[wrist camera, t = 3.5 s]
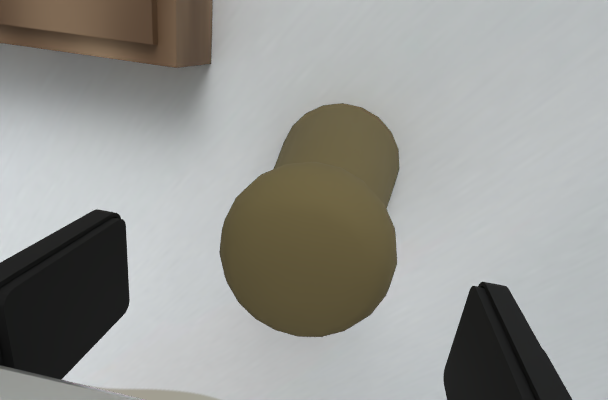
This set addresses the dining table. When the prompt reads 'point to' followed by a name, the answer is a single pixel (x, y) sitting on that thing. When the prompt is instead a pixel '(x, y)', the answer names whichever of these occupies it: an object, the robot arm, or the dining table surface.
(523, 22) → the dining table surface
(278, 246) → the cork
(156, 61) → the walnut plinth
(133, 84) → the dining table surface
